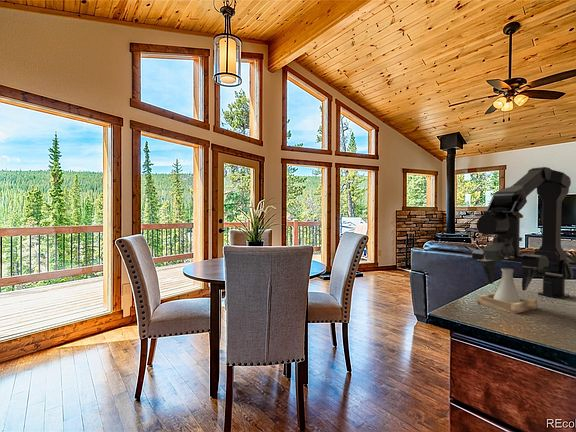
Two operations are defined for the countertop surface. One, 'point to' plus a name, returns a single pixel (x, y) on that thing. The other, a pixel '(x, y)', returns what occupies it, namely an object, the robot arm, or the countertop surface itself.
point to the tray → (507, 304)
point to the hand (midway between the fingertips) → (507, 286)
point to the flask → (507, 287)
